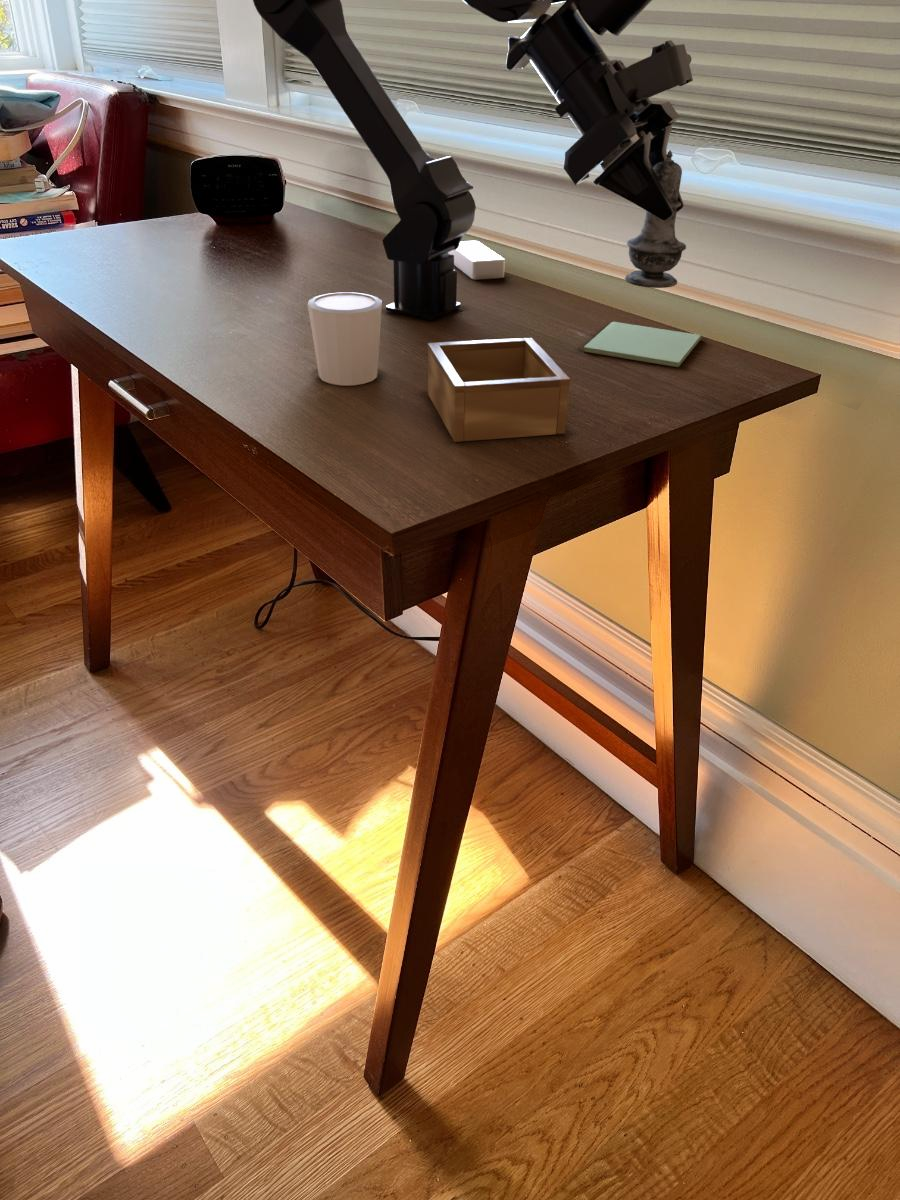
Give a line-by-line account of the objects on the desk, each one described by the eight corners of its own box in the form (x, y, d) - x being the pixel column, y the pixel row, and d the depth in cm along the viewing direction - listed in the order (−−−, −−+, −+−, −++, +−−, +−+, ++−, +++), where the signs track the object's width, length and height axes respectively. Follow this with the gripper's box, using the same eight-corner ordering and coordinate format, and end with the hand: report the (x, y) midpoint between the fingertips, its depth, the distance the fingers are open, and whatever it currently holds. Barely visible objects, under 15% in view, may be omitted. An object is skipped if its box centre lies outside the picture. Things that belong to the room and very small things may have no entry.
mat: (583, 351, 94) (583, 346, 94) (611, 325, 101) (612, 321, 101) (678, 367, 90) (679, 362, 90) (700, 339, 98) (701, 334, 98)
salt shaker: (692, 282, 92) (714, 152, 85) (654, 291, 89) (675, 157, 82) (647, 270, 95) (665, 144, 89) (609, 278, 92) (625, 148, 86)
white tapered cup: (355, 393, 83) (352, 316, 79) (297, 378, 86) (291, 303, 82) (398, 371, 88) (397, 298, 84) (341, 358, 91) (338, 286, 87)
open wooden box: (427, 394, 83) (427, 342, 80) (528, 387, 85) (531, 337, 82) (453, 442, 74) (454, 386, 72) (565, 434, 76) (571, 379, 74)
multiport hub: (473, 279, 117) (473, 261, 115) (447, 259, 125) (447, 241, 124) (505, 277, 118) (506, 259, 116) (477, 257, 126) (477, 240, 125)
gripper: (614, 5, 73) (724, 168, 76) (674, 5, 87) (764, 142, 90) (518, 108, 81) (621, 253, 83) (587, 92, 95) (673, 217, 97)
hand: (674, 213), depth 88 cm, fingers closed on salt shaker, 3 cm apart
